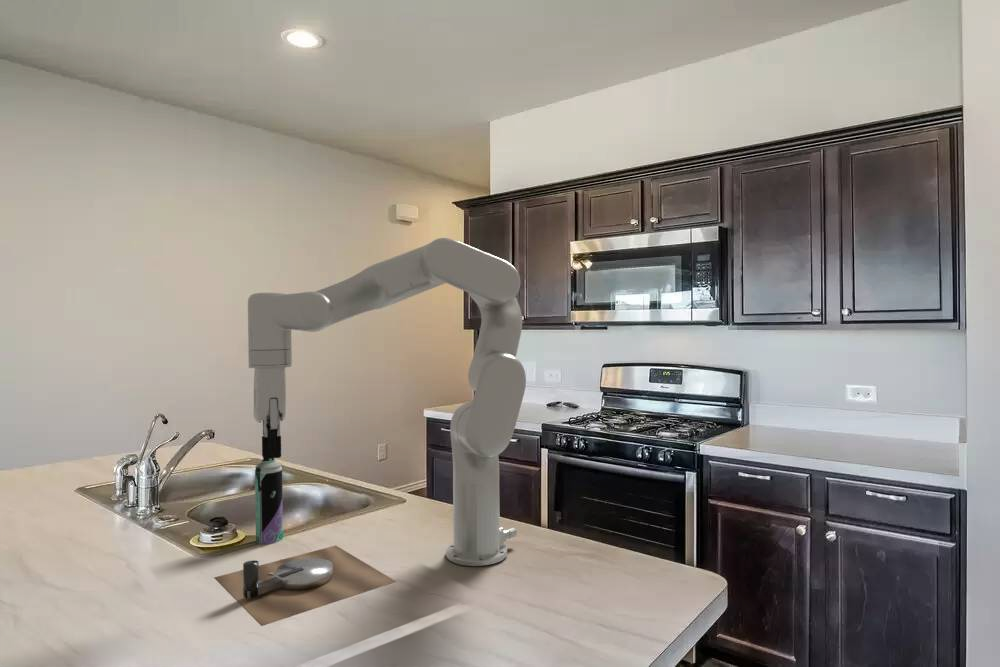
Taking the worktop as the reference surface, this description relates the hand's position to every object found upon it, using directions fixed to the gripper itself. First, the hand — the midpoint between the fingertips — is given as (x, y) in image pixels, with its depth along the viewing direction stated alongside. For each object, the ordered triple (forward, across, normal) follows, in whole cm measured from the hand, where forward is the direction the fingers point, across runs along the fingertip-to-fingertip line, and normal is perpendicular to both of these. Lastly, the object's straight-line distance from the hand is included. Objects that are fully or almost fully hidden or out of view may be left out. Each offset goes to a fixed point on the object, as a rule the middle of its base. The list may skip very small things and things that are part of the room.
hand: (271, 457), depth 114 cm
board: (+23, +6, +5) cm, 24 cm away
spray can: (+23, -19, +1) cm, 30 cm away
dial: (+21, +7, +2) cm, 23 cm away
